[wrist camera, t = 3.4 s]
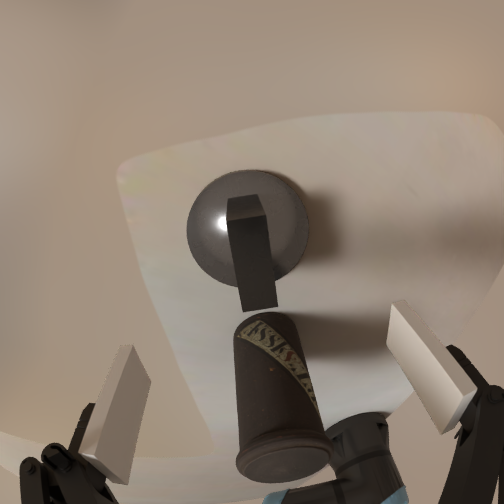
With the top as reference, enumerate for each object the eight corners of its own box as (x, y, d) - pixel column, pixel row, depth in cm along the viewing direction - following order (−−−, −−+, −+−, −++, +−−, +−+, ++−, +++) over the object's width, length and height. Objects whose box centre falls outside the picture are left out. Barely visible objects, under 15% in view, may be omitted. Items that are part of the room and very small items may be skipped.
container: (310, 331, 38) (356, 459, 19) (264, 369, 40) (282, 493, 21) (264, 297, 35) (292, 439, 17) (218, 340, 37) (213, 477, 19)
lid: (299, 162, 30) (328, 173, 20) (309, 272, 34) (334, 319, 25) (177, 181, 30) (153, 200, 20) (202, 289, 34) (192, 341, 25)
